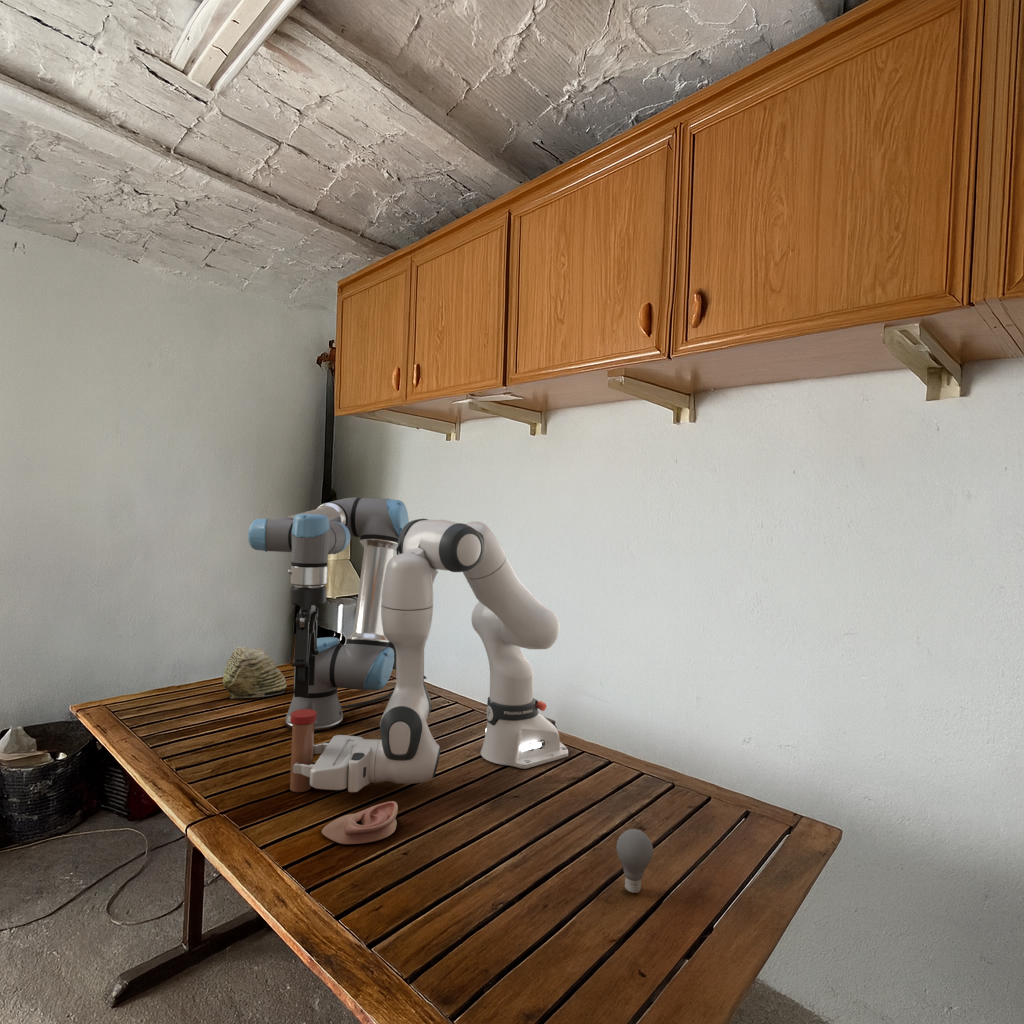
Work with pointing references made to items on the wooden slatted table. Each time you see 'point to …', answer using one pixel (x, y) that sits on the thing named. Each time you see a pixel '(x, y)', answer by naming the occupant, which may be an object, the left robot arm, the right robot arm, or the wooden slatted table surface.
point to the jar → (301, 755)
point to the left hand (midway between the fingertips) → (304, 690)
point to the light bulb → (634, 857)
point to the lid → (303, 716)
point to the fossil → (252, 674)
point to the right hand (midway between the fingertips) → (300, 758)
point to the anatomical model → (364, 825)
